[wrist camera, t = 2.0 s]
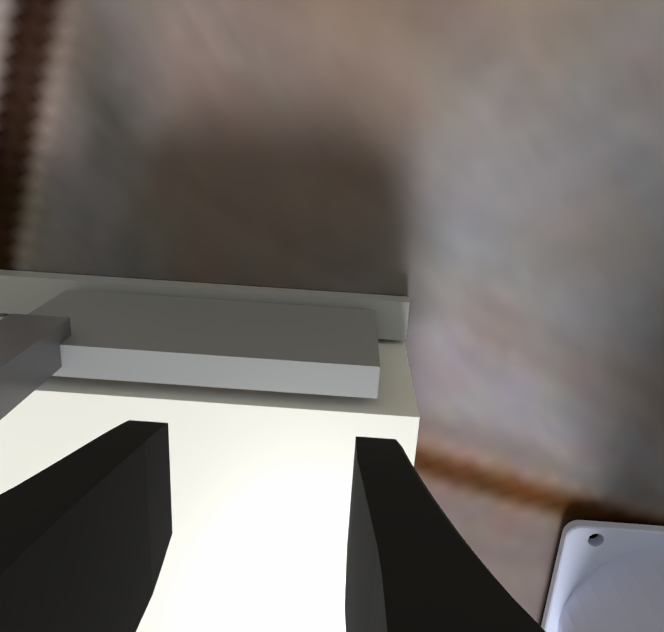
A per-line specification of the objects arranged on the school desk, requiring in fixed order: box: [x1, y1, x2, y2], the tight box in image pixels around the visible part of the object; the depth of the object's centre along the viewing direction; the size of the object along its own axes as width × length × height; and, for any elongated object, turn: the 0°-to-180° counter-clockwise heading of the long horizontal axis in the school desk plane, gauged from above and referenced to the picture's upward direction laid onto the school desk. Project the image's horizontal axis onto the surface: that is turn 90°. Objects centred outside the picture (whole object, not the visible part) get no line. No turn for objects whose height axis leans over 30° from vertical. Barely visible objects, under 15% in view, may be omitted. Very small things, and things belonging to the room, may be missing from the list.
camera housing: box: [0, 269, 420, 632], centre depth 17 cm, size 20×9×5 cm, turn 87°
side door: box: [0, 289, 380, 420], centre depth 14 cm, size 9×1×7 cm, turn 87°
